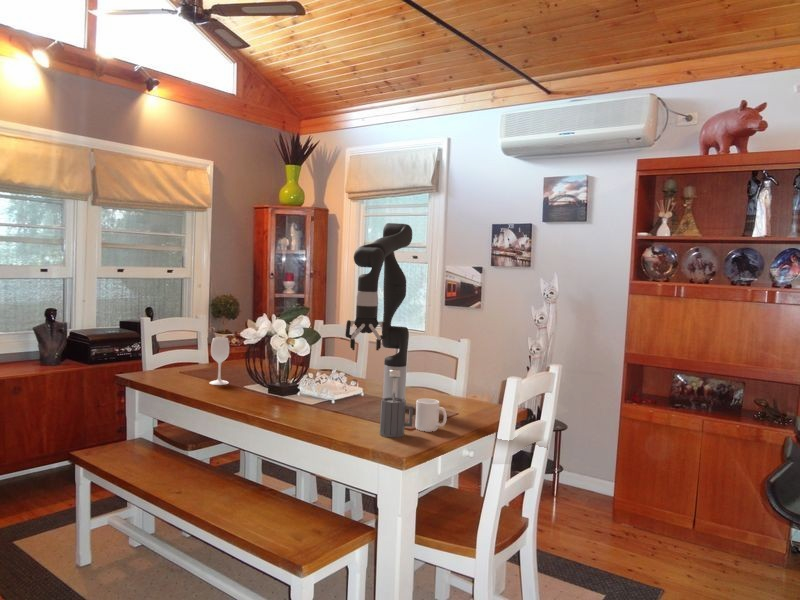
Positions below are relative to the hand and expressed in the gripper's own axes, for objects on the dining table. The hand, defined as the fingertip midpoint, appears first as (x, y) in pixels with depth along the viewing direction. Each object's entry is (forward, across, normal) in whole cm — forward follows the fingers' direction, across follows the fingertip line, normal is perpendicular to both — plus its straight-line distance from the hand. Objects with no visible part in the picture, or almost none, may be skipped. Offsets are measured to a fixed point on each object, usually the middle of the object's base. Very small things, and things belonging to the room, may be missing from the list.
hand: (365, 350), depth 207 cm
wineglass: (+29, +58, -74) cm, 98 cm away
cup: (+28, -25, +3) cm, 38 cm away
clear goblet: (+17, -10, +8) cm, 21 cm away
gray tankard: (+28, -11, +8) cm, 31 cm away
